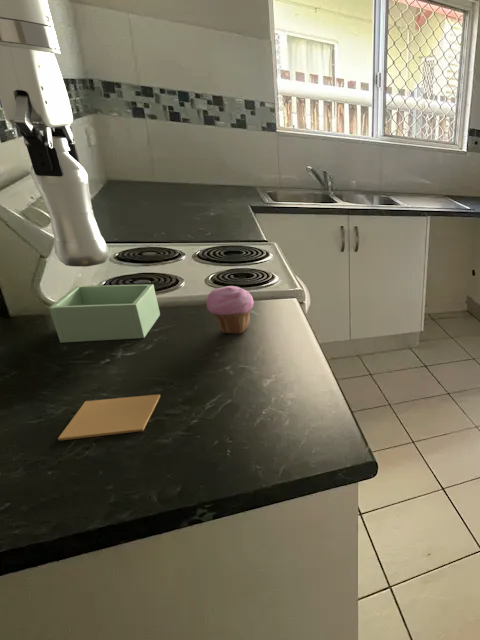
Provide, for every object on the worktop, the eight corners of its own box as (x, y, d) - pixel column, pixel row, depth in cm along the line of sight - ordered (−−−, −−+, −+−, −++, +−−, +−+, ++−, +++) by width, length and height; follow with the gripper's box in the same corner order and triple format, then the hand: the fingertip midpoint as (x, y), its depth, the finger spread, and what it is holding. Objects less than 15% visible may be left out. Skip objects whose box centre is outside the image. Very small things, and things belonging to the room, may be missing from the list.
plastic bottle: (111, 269, 79) (78, 140, 71) (57, 272, 75) (15, 137, 67) (112, 258, 84) (81, 136, 76) (61, 261, 80) (22, 134, 72)
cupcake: (250, 338, 101) (244, 294, 97) (205, 339, 99) (196, 293, 95) (261, 322, 109) (256, 280, 104) (219, 322, 107) (212, 280, 103)
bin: (60, 342, 92) (48, 307, 89) (85, 317, 102) (75, 286, 99) (144, 337, 97) (136, 304, 94) (160, 314, 107) (153, 284, 104)
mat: (58, 440, 67) (57, 438, 67) (86, 403, 75) (85, 401, 75) (143, 431, 71) (142, 428, 70) (160, 396, 79) (160, 394, 79)
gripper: (16, 40, 72) (52, 165, 79) (-53, 25, 57) (-1, 179, 65) (79, 47, 75) (108, 167, 82) (27, 35, 60) (68, 181, 68)
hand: (59, 171), depth 73 cm, fingers closed on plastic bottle, 6 cm apart
